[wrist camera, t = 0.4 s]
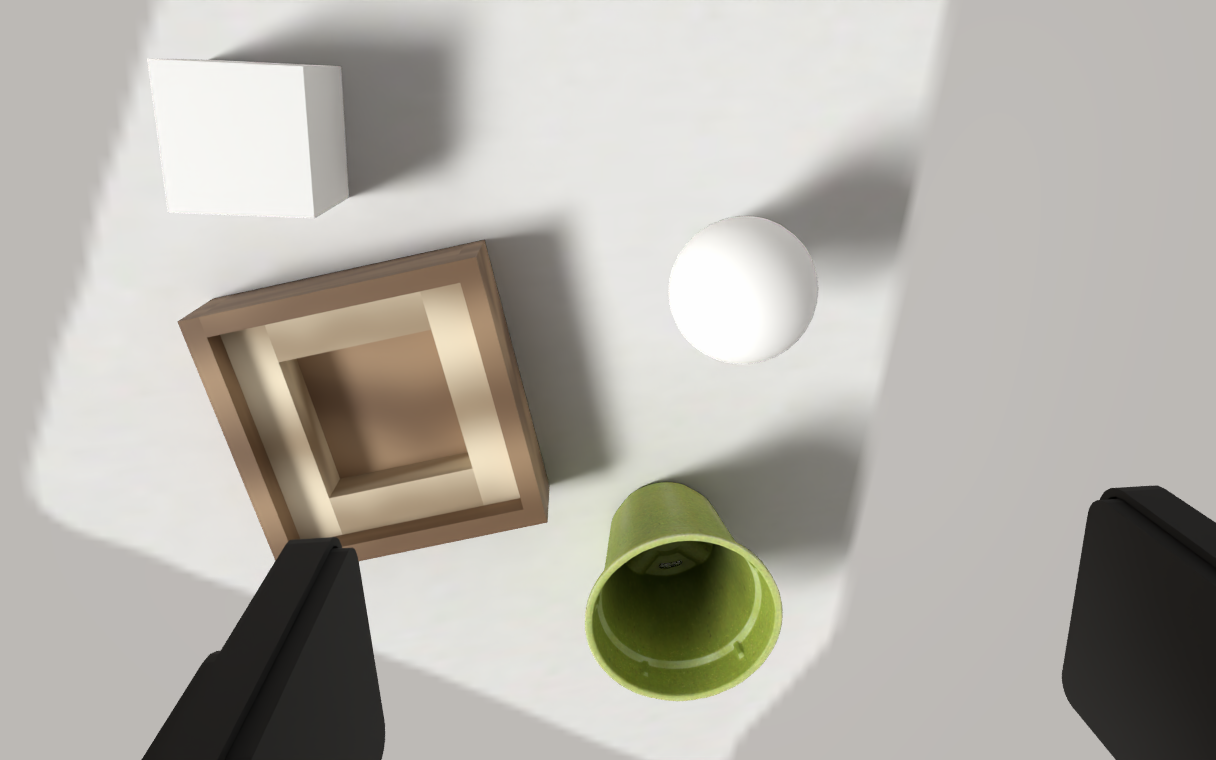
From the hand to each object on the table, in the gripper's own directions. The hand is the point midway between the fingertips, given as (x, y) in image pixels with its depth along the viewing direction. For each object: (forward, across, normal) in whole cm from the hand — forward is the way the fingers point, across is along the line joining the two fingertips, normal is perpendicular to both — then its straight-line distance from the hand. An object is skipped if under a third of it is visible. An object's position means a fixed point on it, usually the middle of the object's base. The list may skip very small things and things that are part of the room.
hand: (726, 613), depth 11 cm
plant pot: (+33, -3, +18) cm, 38 cm away
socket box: (+33, +12, +9) cm, 36 cm away
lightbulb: (+33, -5, +2) cm, 33 cm away
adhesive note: (+33, +15, -5) cm, 37 cm away
